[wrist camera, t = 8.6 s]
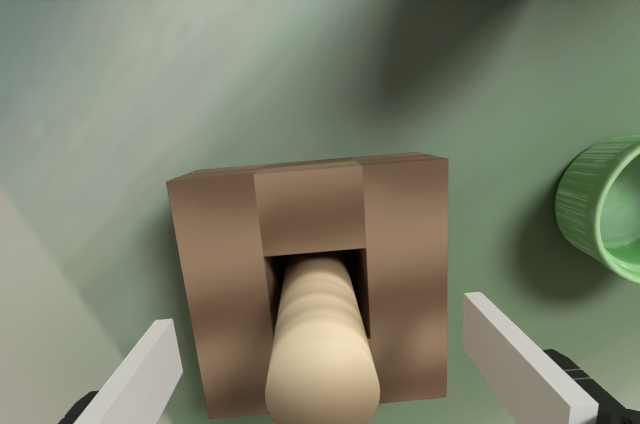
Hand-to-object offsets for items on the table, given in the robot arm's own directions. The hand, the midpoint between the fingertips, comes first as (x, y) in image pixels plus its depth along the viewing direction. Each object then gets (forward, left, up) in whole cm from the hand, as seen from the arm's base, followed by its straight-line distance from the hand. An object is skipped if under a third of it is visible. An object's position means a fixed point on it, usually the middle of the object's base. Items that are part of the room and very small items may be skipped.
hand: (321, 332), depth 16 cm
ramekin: (-3, +20, -9) cm, 22 cm away
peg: (0, 0, -8) cm, 8 cm away
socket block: (0, 0, -8) cm, 8 cm away
